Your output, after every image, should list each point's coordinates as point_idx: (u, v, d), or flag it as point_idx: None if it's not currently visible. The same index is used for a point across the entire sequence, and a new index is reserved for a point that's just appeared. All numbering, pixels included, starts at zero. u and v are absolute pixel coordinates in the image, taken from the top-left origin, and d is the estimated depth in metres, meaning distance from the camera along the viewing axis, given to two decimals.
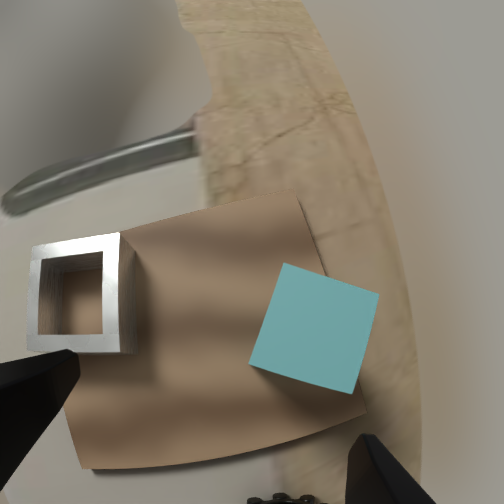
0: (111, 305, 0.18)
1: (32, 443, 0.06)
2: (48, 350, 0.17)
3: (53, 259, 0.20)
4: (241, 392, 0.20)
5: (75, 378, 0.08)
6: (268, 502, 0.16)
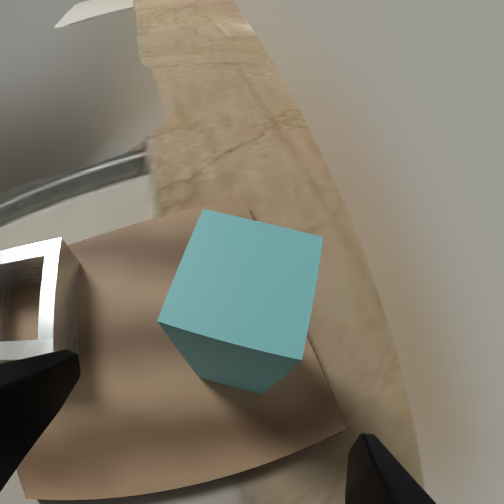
0: (48, 309, 0.15)
1: (32, 443, 0.06)
2: None
3: None
4: (192, 411, 0.16)
5: (75, 378, 0.08)
6: None
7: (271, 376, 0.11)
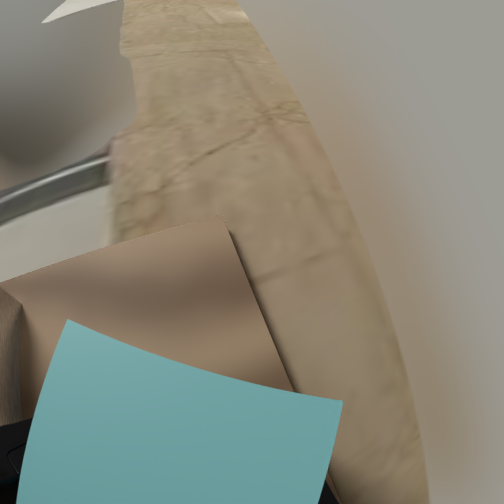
0: None
1: None
2: None
3: None
4: None
5: None
6: None
7: None
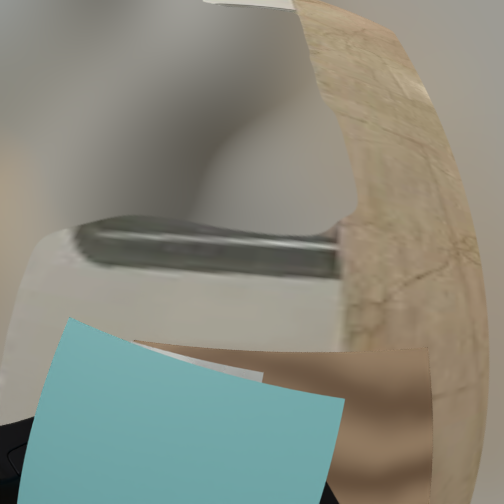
0: None
1: None
2: None
3: None
4: None
5: None
6: None
7: None
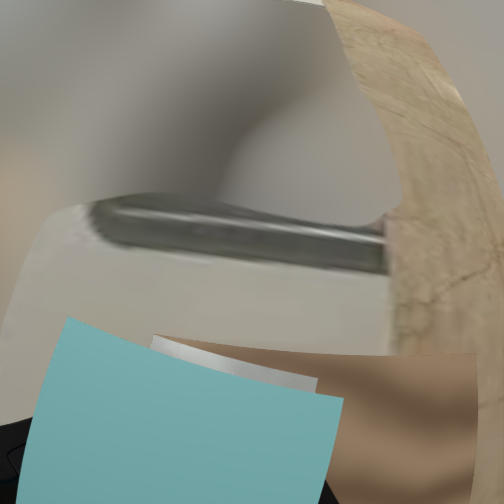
0: None
1: None
2: None
3: None
4: None
5: None
6: None
7: None
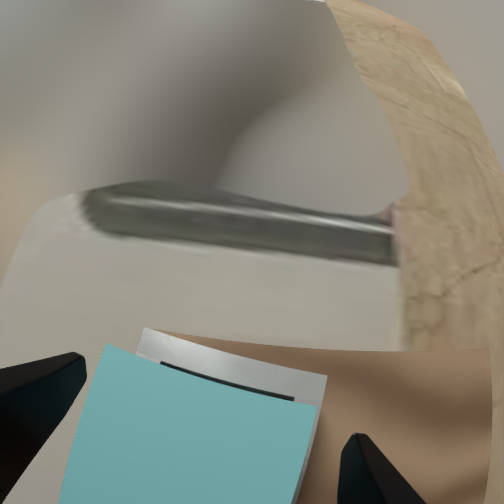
0: None
1: (38, 447, 0.06)
2: None
3: (183, 369, 0.12)
4: None
5: (81, 381, 0.08)
6: None
7: None
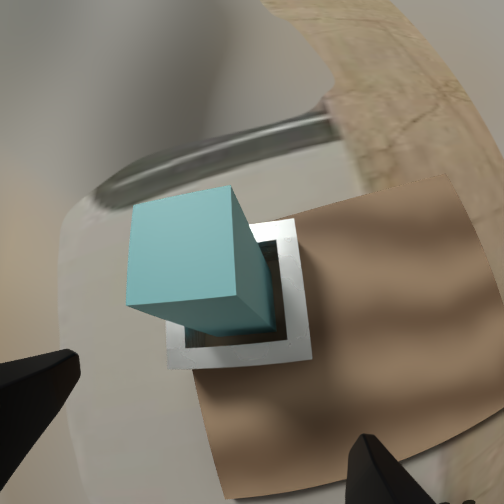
0: (297, 304, 0.16)
1: (32, 443, 0.06)
2: (203, 367, 0.16)
3: None
4: (424, 387, 0.16)
5: (75, 378, 0.08)
6: None
7: (248, 314, 0.13)
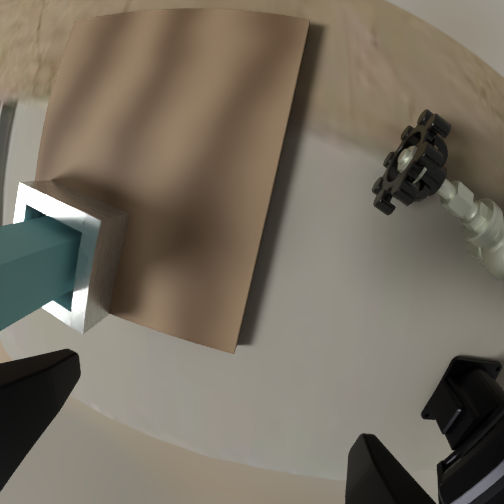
0: (63, 211, 0.16)
1: (32, 443, 0.06)
2: (85, 306, 0.18)
3: None
4: (210, 121, 0.17)
5: (75, 378, 0.08)
6: (386, 171, 0.16)
7: (26, 261, 0.13)
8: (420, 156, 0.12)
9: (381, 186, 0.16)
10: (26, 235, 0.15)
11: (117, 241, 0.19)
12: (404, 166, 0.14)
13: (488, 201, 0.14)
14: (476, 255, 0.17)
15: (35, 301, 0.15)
